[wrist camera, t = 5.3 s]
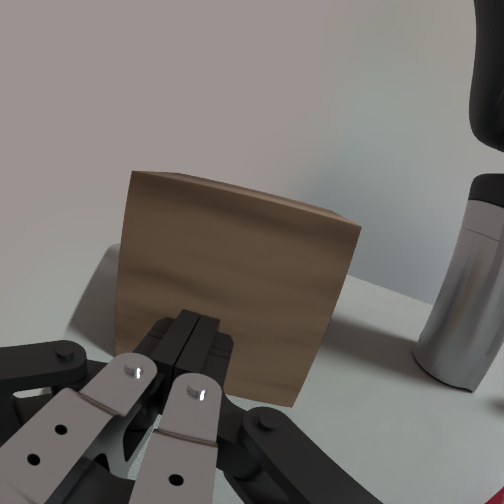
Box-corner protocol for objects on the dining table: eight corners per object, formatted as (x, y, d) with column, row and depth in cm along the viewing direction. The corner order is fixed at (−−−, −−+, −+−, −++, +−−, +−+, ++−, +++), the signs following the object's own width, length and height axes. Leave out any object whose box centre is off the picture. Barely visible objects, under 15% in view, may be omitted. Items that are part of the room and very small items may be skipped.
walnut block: (291, 408, 17) (361, 227, 14) (115, 358, 17) (132, 171, 14) (288, 345, 24) (330, 210, 21) (156, 310, 24) (179, 173, 21)
